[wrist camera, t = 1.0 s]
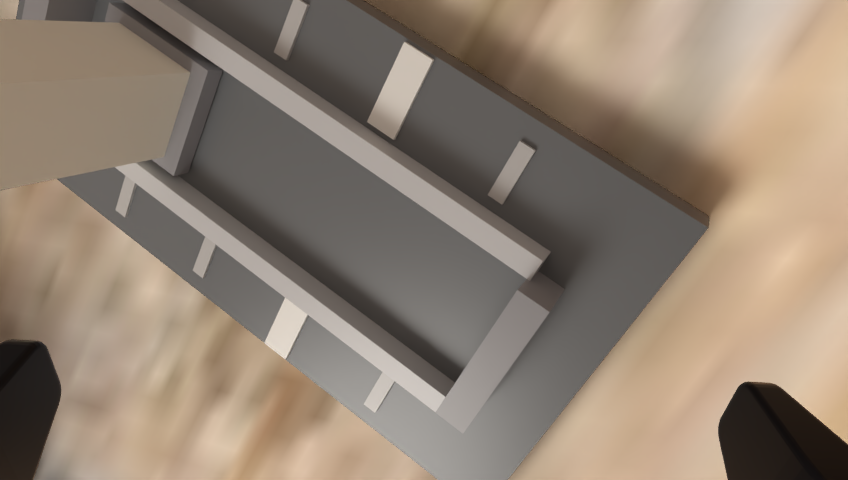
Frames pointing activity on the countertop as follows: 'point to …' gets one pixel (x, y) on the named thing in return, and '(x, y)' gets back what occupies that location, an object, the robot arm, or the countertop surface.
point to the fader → (98, 97)
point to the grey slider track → (395, 224)
